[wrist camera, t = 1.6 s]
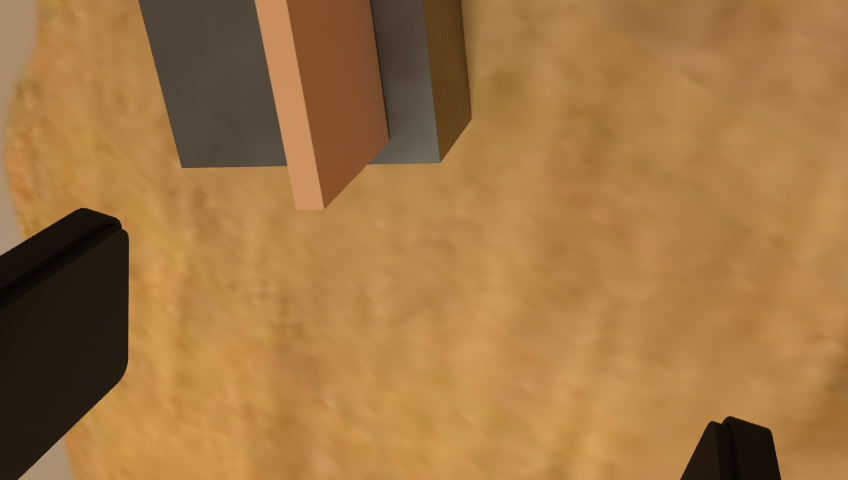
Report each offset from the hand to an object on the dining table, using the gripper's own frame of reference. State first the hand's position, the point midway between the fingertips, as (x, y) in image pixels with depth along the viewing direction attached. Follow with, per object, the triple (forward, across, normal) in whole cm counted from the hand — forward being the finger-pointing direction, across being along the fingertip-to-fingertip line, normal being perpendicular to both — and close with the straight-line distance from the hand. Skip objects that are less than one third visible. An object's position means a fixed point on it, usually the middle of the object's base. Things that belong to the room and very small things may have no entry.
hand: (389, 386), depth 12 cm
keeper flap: (+16, +8, +1) cm, 17 cm away
